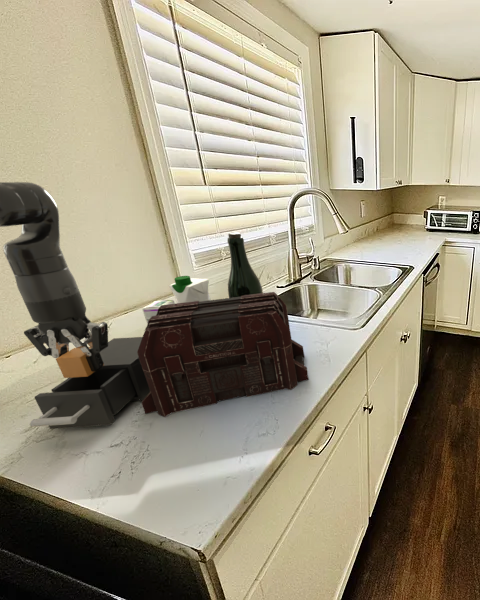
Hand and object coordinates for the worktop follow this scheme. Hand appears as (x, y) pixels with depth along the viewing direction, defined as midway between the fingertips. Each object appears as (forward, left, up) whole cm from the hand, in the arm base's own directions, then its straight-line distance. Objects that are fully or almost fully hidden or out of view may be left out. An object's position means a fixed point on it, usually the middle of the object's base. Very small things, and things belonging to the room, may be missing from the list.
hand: (84, 369), depth 68 cm
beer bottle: (+21, +36, -11) cm, 44 cm away
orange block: (0, 0, 0) cm, 0 cm away
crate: (+25, +9, -11) cm, 29 cm away
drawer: (0, -1, -10) cm, 10 cm away
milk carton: (+4, +38, -11) cm, 40 cm away
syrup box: (-1, +29, -11) cm, 32 cm away
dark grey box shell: (0, +10, -11) cm, 15 cm away
